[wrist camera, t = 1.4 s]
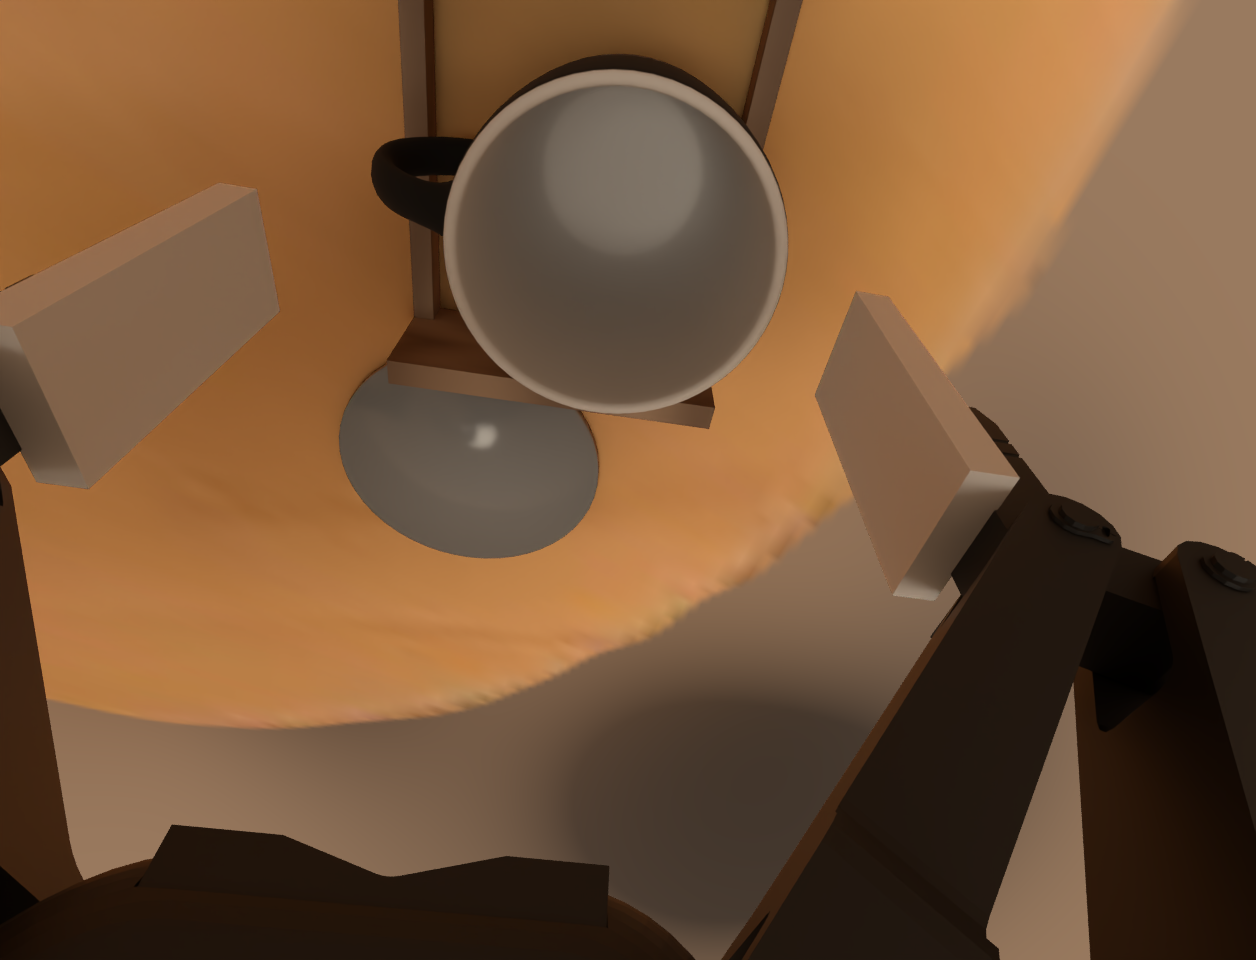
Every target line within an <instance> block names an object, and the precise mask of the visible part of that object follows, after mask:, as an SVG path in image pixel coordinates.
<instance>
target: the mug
mask: <svg viewBox="0 0 1256 960" xmlns="http://www.w3.org/2000/svg"><path fill="white" fill-rule="evenodd" d="M429 175H452V176H454V179H453V180H452V181H449V182H442V183H438V182H430V181H426V180H422V179H419V178H417V177H418V176H429ZM371 177H372V183H373V185H374V188H375V190H376V193H377V195H378V196H379V198H380V199H381V200H382V201H383V203H384V204H385V205H386V206H387V207H389V208H390V209H391V210H392V211H394V212H395V213H397V214H399V215H400V216H402V217H404V218H406V219H408V220H411V221H413V222H415V223H417V224H419V225H421V226H424V227H426V228H428V229H430V230H432V231H434V232H436V233H438V234H439V235H441V236H443V247H444V259H445V267H446V272H447V276H448V281H449V285H450V288H451V291H452V294H453V297H454V300H455V303H456V305H457V307H458V310H459V312H460V314H461V316H462V318H463V320H464V322H465V323H466V325H467V327H468V329H469V330H470V332H471V333H472V335H473V336H474V338H475V339H476V341H477V342H478V344H479V345H480V346H481V347H482V349H483V350H484V351H485V352H486V354H487V355H488V356H489V357H490V358H491V359H492V360H493V361H494V362H495V363H496V364H497V365H498V366H499V367H500V368H501V369H503V370H504V371H505V372H506V373H507V374H508V375H510V376H511V377H512V378H514V379H515V380H516V381H518V382H519V383H520V384H522V385H524V386H525V387H527V388H528V389H530V390H532V391H533V392H535V393H537V394H539V395H541V396H543V397H545V398H547V399H550V400H552V401H555V402H557V403H560V404H563V405H566V406H569V407H573V408H576V409H581V410H586V411H591V412H599V413H612V414H625V413H638V412H646V411H651V410H656V409H661V408H664V407H667V406H671V405H674V404H677V403H679V402H682V401H684V400H687V399H689V398H691V397H693V396H695V395H697V394H699V393H701V392H703V391H704V390H706V389H708V388H709V387H711V386H713V385H714V384H715V383H717V382H718V381H720V380H721V379H722V378H724V377H725V376H726V375H727V374H728V373H730V372H731V371H732V370H733V369H734V368H735V367H736V366H737V365H738V364H739V363H740V362H741V361H742V360H743V359H744V358H745V357H746V356H747V355H748V353H749V352H750V351H751V350H752V348H753V347H754V346H755V345H756V343H757V342H758V340H759V339H760V337H761V336H762V334H763V333H764V331H765V329H766V327H767V326H768V324H769V322H770V320H771V318H772V316H773V313H774V311H775V309H776V306H777V304H778V301H779V298H780V295H781V291H782V288H783V284H784V279H785V274H786V268H787V259H788V228H787V217H786V212H785V207H784V202H783V198H782V194H781V191H780V188H779V184H778V181H777V179H776V177H775V174H774V172H773V170H772V167H771V165H770V162H769V160H768V159H767V157H766V155H765V153H764V151H763V150H762V148H761V146H760V144H759V142H758V141H757V139H756V138H755V137H754V135H753V134H752V132H751V131H750V129H749V128H748V126H747V125H746V124H745V123H744V121H743V120H742V119H741V118H740V117H739V116H738V115H737V113H736V112H735V111H734V110H733V109H732V108H731V107H730V106H729V105H728V104H727V103H726V102H725V101H724V100H723V99H722V98H721V97H720V96H718V95H717V94H716V93H715V92H714V91H713V90H712V89H710V88H709V87H708V86H706V85H705V84H704V83H702V82H701V81H699V80H698V79H697V78H695V77H693V76H692V75H690V74H688V73H686V72H685V71H683V70H681V69H679V68H677V67H674V66H672V65H670V64H668V63H665V62H662V61H659V60H656V59H652V58H649V57H643V56H638V55H629V54H607V55H598V56H593V57H587V58H583V59H580V60H577V61H573V62H570V63H567V64H565V65H563V66H560V67H558V68H556V69H553V70H551V71H549V72H547V73H546V74H544V75H542V76H540V77H539V78H537V79H535V80H533V81H532V82H530V83H529V84H528V85H526V86H525V87H524V88H522V89H521V90H519V91H518V92H517V93H515V94H514V95H513V96H512V97H510V98H509V99H508V100H507V101H506V102H505V103H504V104H503V105H502V106H501V107H500V108H499V109H497V110H496V112H495V113H494V114H493V115H492V116H491V117H490V118H489V120H488V121H487V122H486V123H485V124H484V125H483V127H482V128H481V129H480V131H479V132H478V134H477V135H476V137H475V138H474V139H464V138H453V137H410V138H402V139H397V140H393V141H390V142H388V143H385V144H384V145H382V146H381V147H380V148H379V149H378V150H377V151H376V153H375V155H374V157H373V160H372V169H371Z"/></svg>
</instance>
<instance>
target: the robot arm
mask: <svg viewBox="0 0 1256 960" xmlns="http://www.w3.org/2000/svg"><path fill="white" fill-rule="evenodd" d="M279 312H280V309H279V303H278V298H277V293H276V287H275V282H274V277H273V272H272V266H271V261H270V256H269V250H268V245H267V240H266V234H265V229H264V224H263V219H262V213H261V208H260V203H259V197H258V192H257V189H254V188H248V187H242V186H237V185H231V184H225V183H217V184H215V185H213V186H211V187H209V188H207V189H205V190H203V191H201V192H199V193H197V194H195V195H193V196H191V197H189V198H187V199H185V200H183V201H181V202H179V203H177V204H175V205H173V206H171V207H169V208H167V209H165V210H163V211H161V212H159V213H157V214H155V215H153V216H151V217H149V218H147V219H145V220H143V221H141V222H139V223H137V224H135V225H133V226H131V227H129V228H127V229H125V230H123V231H121V232H119V233H117V234H115V235H113V236H111V237H109V238H107V239H105V240H103V241H101V242H99V243H97V244H95V245H93V246H91V247H89V248H87V249H85V250H83V251H81V252H79V253H77V254H75V255H73V256H71V257H69V258H67V259H65V260H63V261H61V262H59V263H57V264H55V265H53V266H51V267H49V268H47V269H45V270H43V271H41V272H39V273H37V274H35V275H31V276H29V277H27V278H25V279H23V280H21V281H19V282H17V283H15V284H13V285H11V286H9V287H7V288H5V290H3V291H0V466H1V465H3V464H4V463H5V462H7V461H8V460H9V459H10V458H12V457H13V456H14V455H16V454H17V453H18V452H21V454H22V456H23V457H24V459H25V461H26V463H27V465H28V467H29V469H30V471H31V472H32V474H33V476H34V478H35V480H36V482H39V483H46V484H54V485H62V486H69V487H77V488H84V489H89V488H90V487H92V486H93V485H94V484H95V483H96V482H97V481H98V480H99V479H100V478H101V477H102V476H103V475H104V474H106V473H107V472H108V471H109V470H110V469H111V468H112V467H113V466H114V465H115V464H116V463H117V462H118V461H120V460H121V459H122V458H123V457H124V456H125V455H126V454H127V453H128V452H129V451H130V450H131V449H132V448H133V447H135V446H136V445H137V444H138V443H139V442H140V441H141V440H142V439H143V438H144V437H145V436H146V435H147V434H149V433H150V432H151V431H152V430H153V429H154V428H155V427H156V426H157V425H158V424H159V423H160V422H161V421H163V420H164V419H165V418H166V417H167V416H168V415H169V414H170V413H171V412H172V411H173V410H174V409H175V408H177V407H178V406H179V405H180V404H181V403H182V402H183V401H184V400H185V399H186V398H187V397H188V396H189V395H190V394H192V393H193V392H194V391H195V390H196V389H197V388H198V387H199V386H200V385H201V384H202V383H203V382H204V381H206V380H207V379H208V378H209V377H210V376H211V375H212V374H213V373H214V372H215V371H216V370H217V369H218V368H220V367H221V366H222V365H223V364H224V363H225V362H226V361H227V360H228V359H229V358H230V357H231V356H232V355H233V354H235V353H236V352H237V351H238V350H239V349H240V348H241V347H242V346H243V345H244V344H245V343H246V342H247V341H249V340H250V339H251V338H252V337H253V336H254V335H255V334H256V333H257V332H258V331H259V330H260V329H261V328H263V327H264V326H265V325H266V324H267V323H268V322H269V321H270V320H271V319H272V318H273V317H274V316H275V315H277V314H278V313H279ZM815 397H816V399H817V402H818V404H819V407H820V410H821V412H822V415H823V417H824V420H825V423H826V425H827V428H828V430H829V433H830V436H831V438H832V441H833V443H834V446H835V448H836V451H837V454H838V456H839V459H840V461H841V464H842V467H843V469H844V472H845V474H846V477H847V480H848V482H849V485H850V487H851V490H852V492H853V495H854V498H855V500H856V503H857V505H858V508H859V510H860V513H861V516H862V518H863V521H864V524H865V526H866V529H867V531H868V534H869V536H870V539H871V542H872V544H873V547H874V549H875V552H876V555H877V557H878V560H879V562H880V565H881V567H882V570H883V573H884V575H885V578H886V580H887V583H888V586H889V588H890V591H891V593H892V595H893V596H901V597H909V598H916V599H924V600H931V601H935V599H936V598H937V597H938V595H939V594H940V592H941V591H942V589H943V588H944V586H945V585H946V584H947V582H948V581H949V579H950V578H951V576H952V577H953V579H954V581H955V583H956V585H957V587H958V589H959V591H960V594H961V595H960V597H959V598H958V599H957V601H956V602H955V604H954V605H953V606H952V608H951V609H950V610H949V612H948V613H947V615H946V616H945V617H944V619H943V620H942V621H941V623H940V624H939V626H938V627H937V628H936V630H935V631H934V632H933V634H932V635H931V640H930V641H929V643H928V644H927V646H926V648H925V649H924V651H923V652H922V654H921V655H920V657H919V658H918V660H917V661H916V663H915V665H914V666H913V668H912V669H911V671H910V672H909V674H908V675H907V677H906V678H905V680H904V682H903V683H902V685H901V686H900V688H899V689H898V691H897V692H896V694H895V696H894V697H893V699H892V700H891V702H890V703H889V705H888V706H887V708H886V709H885V711H884V713H883V714H882V715H881V717H880V719H879V720H878V722H877V723H876V725H875V726H874V728H873V729H872V731H871V732H870V734H869V736H868V737H867V739H866V740H865V742H864V743H863V745H862V746H861V748H860V750H859V751H858V753H857V754H856V756H855V757H854V759H853V760H852V762H851V763H850V765H849V766H848V768H847V770H846V771H845V773H844V774H843V776H842V777H841V779H840V780H839V782H838V783H837V785H836V786H835V788H834V790H833V791H832V793H831V794H830V796H829V797H828V799H827V800H826V802H825V804H824V805H823V806H822V808H821V810H820V811H819V813H818V814H817V816H816V817H815V819H814V820H813V822H812V823H811V825H810V827H809V828H808V830H807V831H806V833H805V834H804V836H803V837H802V839H801V840H800V842H799V844H798V845H797V847H796V848H795V850H794V851H793V853H792V854H791V856H790V857H789V859H788V860H787V862H786V864H785V865H784V867H783V868H782V870H781V871H780V873H779V874H778V876H777V877H776V879H775V881H774V882H773V884H772V885H771V887H770V888H769V890H768V891H767V893H766V894H765V896H764V898H763V899H762V901H761V902H760V904H759V905H758V907H757V908H756V910H755V911H754V913H753V914H752V916H751V917H750V919H749V920H748V922H747V923H746V925H745V926H744V928H743V929H742V930H741V932H740V933H739V935H738V936H737V937H736V939H735V940H734V942H733V943H732V944H731V946H730V947H729V949H728V950H727V952H726V953H725V955H724V956H723V958H722V959H721V960H1000V958H999V949H998V948H997V947H996V946H995V945H994V944H992V943H991V942H990V941H989V940H988V939H987V938H986V928H987V924H988V920H989V916H990V913H991V911H992V908H993V905H994V902H995V900H996V897H997V894H998V891H999V888H1000V886H1001V883H1002V880H1003V877H1004V874H1005V872H1006V869H1007V866H1008V863H1009V860H1010V857H1011V854H1012V852H1013V849H1014V846H1015V844H1016V840H1017V838H1018V835H1019V832H1020V829H1021V827H1022V824H1023V821H1024V818H1025V815H1026V812H1027V810H1028V807H1029V804H1030V802H1031V799H1032V796H1033V793H1034V790H1035V787H1036V785H1037V782H1038V779H1039V776H1040V774H1041V771H1042V768H1043V765H1044V762H1045V759H1046V757H1047V754H1048V751H1049V748H1050V745H1051V743H1052V739H1053V737H1054V734H1055V731H1056V729H1057V726H1058V723H1059V720H1060V718H1061V715H1062V712H1063V709H1064V706H1065V704H1066V701H1067V698H1068V695H1069V692H1070V689H1071V687H1072V683H1073V682H1074V698H1075V714H1076V730H1077V747H1078V763H1079V779H1080V795H1081V812H1082V828H1083V844H1084V860H1085V877H1086V893H1087V909H1088V926H1089V940H1090V941H1089V942H1090V958H1091V960H1256V566H1255V565H1254V564H1252V563H1251V562H1249V561H1244V560H1245V558H1242V557H1241V556H1239V555H1238V554H1235V553H1232V552H1227V551H1225V550H1223V549H1221V548H1219V547H1216V546H1212V545H1209V544H1206V543H1202V542H1193V541H1186V542H1183V543H1182V544H1179V545H1178V546H1177V547H1176V548H1175V549H1174V550H1173V551H1172V552H1171V553H1170V554H1169V555H1168V556H1167V557H1166V558H1165V559H1164V560H1163V561H1160V560H1157V559H1154V558H1151V557H1149V556H1146V555H1143V554H1140V553H1137V552H1134V551H1131V550H1128V549H1125V548H1122V546H1121V537H1120V535H1119V534H1118V532H1117V531H1116V530H1115V528H1114V527H1113V525H1112V524H1110V523H1109V522H1108V521H1107V520H1106V519H1105V518H1103V517H1102V516H1101V515H1100V514H1098V513H1097V512H1095V511H1093V510H1092V509H1090V508H1088V507H1086V506H1085V505H1083V504H1081V503H1079V502H1076V501H1074V500H1071V499H1069V498H1066V497H1062V496H1058V495H1052V494H1049V493H1048V492H1047V490H1046V489H1045V488H1044V487H1043V485H1042V484H1041V483H1040V481H1039V480H1038V479H1037V477H1036V476H1035V475H1034V473H1033V472H1032V471H1031V469H1030V468H1029V467H1028V466H1027V464H1026V463H1025V462H1024V460H1023V459H1022V458H1019V454H1018V452H1017V451H1016V450H1015V448H1014V447H1013V446H1012V444H1008V442H1009V440H1008V439H1007V438H1006V436H1005V435H1004V434H1003V433H1002V431H1001V430H1000V429H999V427H998V426H997V425H996V424H995V423H994V422H993V421H991V420H990V419H989V418H987V417H986V416H985V415H983V414H982V413H981V412H980V411H978V410H977V409H976V408H972V407H968V406H967V404H966V403H965V402H964V400H963V399H962V397H961V396H960V395H959V393H958V392H957V390H956V389H955V388H954V386H953V385H952V384H951V382H950V381H949V379H948V378H947V377H946V375H945V374H944V373H943V371H942V370H941V368H940V367H939V366H938V364H937V363H936V362H935V360H934V359H933V357H932V356H931V355H930V353H929V352H928V350H927V349H926V348H925V346H924V345H923V344H922V342H921V341H920V339H919V338H918V337H917V335H916V334H915V333H914V331H913V330H912V328H911V327H910V326H909V324H908V323H907V322H906V320H905V319H904V317H903V316H902V315H901V313H900V312H899V311H898V309H897V308H896V306H895V305H894V304H893V302H892V301H891V299H890V298H889V297H888V296H882V295H876V294H870V293H865V292H859V291H856V292H855V295H854V297H853V300H852V302H851V305H850V308H849V310H848V313H847V315H846V318H845V320H844V323H843V325H842V328H841V330H840V333H839V335H838V338H837V340H836V343H835V345H834V348H833V350H832V353H831V355H830V358H829V360H828V363H827V365H826V368H825V370H824V373H823V375H822V378H821V380H820V383H819V386H818V388H817V391H816V393H815ZM608 882H609V866H605V865H595V864H585V863H574V862H563V861H553V860H542V859H532V858H521V857H510V856H505V857H499V858H494V859H488V860H483V861H477V862H472V863H467V864H462V865H456V866H451V867H445V868H440V869H434V870H429V871H424V872H418V873H413V874H408V875H402V876H395V877H387V876H381V875H378V874H375V873H373V872H371V871H368V870H366V869H363V868H361V867H359V866H356V865H353V864H351V863H349V862H347V861H344V860H342V859H339V858H337V857H335V856H332V855H330V854H327V853H325V852H323V851H320V850H318V849H315V848H313V847H310V846H308V845H306V844H303V843H301V842H299V841H296V840H294V839H291V838H289V837H286V836H284V835H276V834H266V833H255V832H245V831H234V830H224V829H213V828H203V827H191V826H181V825H171V827H170V829H169V831H168V833H167V834H166V836H165V838H164V840H163V842H162V843H161V845H160V847H159V849H158V851H157V852H156V854H155V856H154V858H153V859H147V860H143V861H140V862H136V863H133V864H129V865H126V866H122V867H119V868H115V869H112V870H109V871H107V872H104V873H102V874H99V875H96V876H94V877H91V878H89V879H86V880H83V878H82V876H81V874H80V872H79V870H78V867H77V865H76V862H75V859H74V857H73V853H72V849H71V845H70V840H69V834H68V828H67V821H66V816H65V810H64V804H63V797H62V791H61V785H60V779H59V773H58V767H57V761H56V755H55V749H54V743H53V737H52V731H51V725H50V719H49V713H48V707H47V701H46V694H45V688H44V682H43V676H42V670H41V664H40V658H39V652H38V646H37V640H36V634H35V628H34V622H33V616H32V610H31V604H30V598H29V592H28V586H27V579H26V573H25V567H24V561H23V555H22V549H21V543H20V537H19V531H18V525H17V519H16V513H15V507H14V501H13V495H12V489H11V485H10V483H9V481H8V480H7V478H6V476H5V474H4V473H3V471H2V469H1V467H0V960H695V959H694V957H693V956H692V955H691V954H690V953H689V952H688V951H687V950H686V949H685V948H684V947H683V946H682V945H681V944H680V943H679V942H678V941H677V940H676V939H675V938H674V937H673V936H672V935H671V934H670V933H669V932H668V931H667V930H665V929H664V928H663V927H661V926H660V925H659V924H658V923H656V922H655V921H654V920H652V919H651V918H650V917H649V916H647V915H645V914H644V913H642V912H640V911H639V910H637V909H635V908H634V907H632V906H630V905H629V904H627V903H625V902H623V901H621V900H618V899H616V898H614V897H611V896H609V895H608Z"/></svg>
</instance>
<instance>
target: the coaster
mask: <svg viewBox="0 0 1256 960" xmlns="http://www.w3.org/2000/svg"><path fill="white" fill-rule="evenodd" d="M339 445H340V454H341V458H342V463H343V466H344V469H345V471H346V474H347V476H348V479H349V480H350V482H351V484H352V486H353V487H354V489H355V491H356V492H357V494H358V495H359V496H360V498H361V499H362V500H363V502H364V503H365V504H366V505H367V506H368V507H369V508H370V509H371V510H372V511H373V512H374V513H375V514H376V515H377V516H378V517H379V518H380V519H381V520H383V521H384V522H385V523H386V524H388V525H389V526H391V527H392V528H393V529H395V530H396V531H398V532H399V533H401V534H403V535H405V536H406V537H408V538H410V539H412V540H414V541H416V542H418V543H420V544H423V545H425V546H427V547H430V548H433V549H436V550H439V551H442V552H446V553H450V554H454V555H459V556H466V557H474V558H505V557H514V556H518V555H523V554H528V553H531V552H534V551H537V550H540V549H542V548H544V547H546V546H549V545H551V544H553V543H555V542H556V541H558V540H559V539H561V538H563V537H564V536H565V535H567V534H568V533H569V532H570V531H571V530H573V529H574V528H575V527H576V525H577V524H578V523H579V522H580V521H581V520H582V519H583V517H584V516H585V514H586V513H587V511H588V510H589V508H590V505H591V503H592V501H593V499H594V496H595V492H596V488H597V481H598V469H599V462H598V451H597V447H596V443H595V439H594V437H593V434H592V432H591V429H590V427H589V425H588V423H587V421H586V420H585V418H584V416H583V415H582V413H581V411H579V410H572V409H565V408H558V407H551V406H544V405H537V404H530V403H523V402H516V401H509V400H502V399H494V398H487V397H480V396H473V395H466V394H459V393H452V392H445V391H438V390H431V389H424V388H417V387H410V386H403V385H396V384H389V383H388V371H387V363H386V364H385V365H383V366H382V367H380V368H379V369H377V370H375V371H374V372H373V373H372V374H371V375H370V376H369V377H368V378H367V379H365V380H364V381H363V383H362V384H361V385H360V387H359V388H358V389H357V391H356V392H355V393H354V395H353V396H352V398H351V399H350V401H349V403H348V405H347V407H346V409H345V411H344V414H343V418H342V421H341V424H340V433H339Z"/></svg>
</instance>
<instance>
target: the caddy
mask: <svg viewBox="0 0 1256 960" xmlns="http://www.w3.org/2000/svg"><path fill="white" fill-rule="evenodd" d="M802 1H803V0H770V3H769V8H768V12H767V16H766V20H765V24H764V28H763V33H762V37H761V41H760V45H759V49H758V53H757V58H756V62H755V66H754V70H753V74H752V78H751V83H750V87H749V91H748V95H747V99H746V103H745V108H744V112H743V116H742V120H743V121H744V123H745V124H746V125H747V126H748V128H749V129H750V131H751V132H752V134H753V135H754V137H755V138H756V139H757V141H758V142H759V144H760V146H761V148H762V150H763V148H764V144H765V140H766V136H767V133H768V129H769V125H770V121H771V118H772V114H773V110H774V106H775V103H776V99H777V95H778V91H779V87H780V84H781V80H782V76H783V72H784V69H785V65H786V61H787V57H788V54H789V50H790V46H791V42H792V38H793V35H794V31H795V27H796V23H797V20H798V16H799V12H800V8H801V5H802ZM398 9H399V29H400V48H401V68H402V88H403V107H404V127H405V138H410V137H436V104H435V62H434V19H433V0H398ZM417 178H419V179H422V180H426V181H430V182H437V175H429V176H418V177H417ZM409 225H410V245H411V265H412V284H413V304H414V318H413V320H412V321H411V323H410V324H409V326H408V328H407V329H406V331H405V332H404V334H403V335H402V337H401V339H400V340H399V342H398V343H397V345H396V346H395V348H394V350H393V351H392V353H391V354H390V356H389V357H388V359H387V371H388V383H389V384H396V385H403V386H410V387H417V388H424V389H431V390H438V391H445V392H452V393H459V394H466V395H473V396H480V397H487V398H494V399H502V400H509V401H516V402H523V403H530V404H537V405H544V406H551V407H558V408H565V409H572V410H579V411H586V410H581V409H576V408H573V407H569V406H566V405H563V404H560V403H557V402H555V401H552V400H550V399H547V398H545V397H543V396H541V395H539V394H537V393H535V392H533V391H532V390H530V389H528V388H527V387H525V386H524V385H522V384H520V383H519V382H518V381H516V380H515V379H514V378H512V377H511V376H510V375H508V374H507V373H506V372H505V371H504V370H503V369H501V368H500V367H499V366H498V365H497V364H496V363H495V362H494V361H493V360H492V359H491V358H490V357H489V356H488V355H487V354H486V352H485V351H484V350H483V349H482V347H481V346H480V345H479V344H478V342H477V341H476V339H475V338H474V336H473V335H472V333H471V332H470V330H469V329H468V327H467V325H466V323H465V322H464V320H463V318H462V316H461V314H460V312H459V311H456V310H450V309H443V308H440V274H439V234H438V233H436V232H434V231H432V230H430V229H428V228H426V227H424V226H421V225H419V224H417V223H415V222H413V221H411V220H409ZM714 409H715V406H714V400H713V394H712V388H711V387H709V388H708V389H706V390H704V391H703V392H701V393H699V394H697V395H695V396H693V397H691V398H689V399H687V400H684V401H682V402H679V403H677V404H674V405H671V406H667V407H664V408H661V409H656V410H651V411H646V412H638V413H625V414H612V413H600V414H607V415H614V416H621V417H628V418H636V419H643V420H650V421H657V422H664V423H671V424H678V425H685V426H692V427H699V428H706V429H709V427H710V423H711V420H712V416H713V413H714ZM586 412H591V411H586ZM593 413H599V412H593Z"/></svg>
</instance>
